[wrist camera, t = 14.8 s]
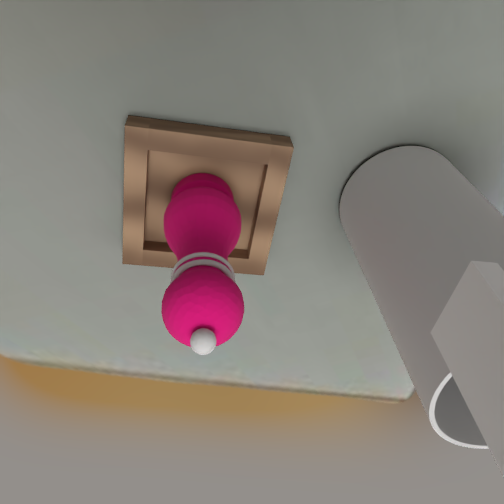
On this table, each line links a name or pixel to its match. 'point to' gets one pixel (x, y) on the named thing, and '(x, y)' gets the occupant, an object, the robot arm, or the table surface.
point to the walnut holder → (192, 162)
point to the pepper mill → (202, 263)
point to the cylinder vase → (421, 262)
